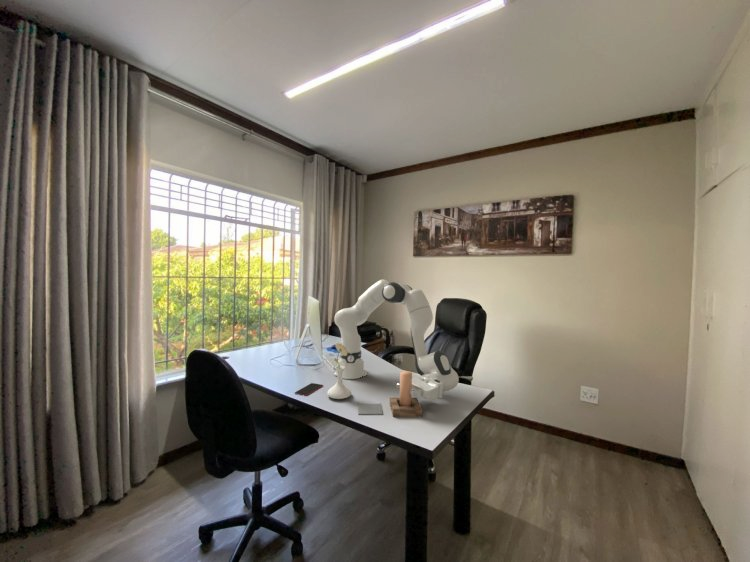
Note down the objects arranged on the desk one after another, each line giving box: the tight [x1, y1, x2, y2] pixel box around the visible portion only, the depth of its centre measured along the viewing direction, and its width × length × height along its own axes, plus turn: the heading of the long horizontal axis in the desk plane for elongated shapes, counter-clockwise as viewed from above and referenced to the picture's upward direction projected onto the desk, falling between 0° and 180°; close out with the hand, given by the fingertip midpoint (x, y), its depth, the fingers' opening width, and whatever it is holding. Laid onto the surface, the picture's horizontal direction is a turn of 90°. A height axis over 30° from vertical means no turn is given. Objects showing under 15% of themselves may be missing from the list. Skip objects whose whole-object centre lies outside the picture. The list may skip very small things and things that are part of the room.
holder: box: [389, 397, 423, 418], centre depth 128 cm, size 12×12×3 cm
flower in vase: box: [326, 341, 352, 400], centre depth 142 cm, size 13×11×25 cm
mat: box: [357, 403, 384, 416], centre depth 128 cm, size 10×10×1 cm
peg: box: [399, 370, 413, 407], centre depth 128 cm, size 5×5×16 cm
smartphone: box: [294, 382, 324, 397], centre depth 149 cm, size 7×1×15 cm
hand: (404, 389), depth 128 cm, fingers open, 8 cm apart
